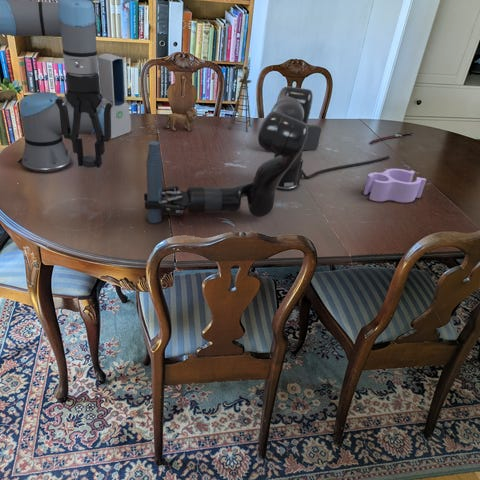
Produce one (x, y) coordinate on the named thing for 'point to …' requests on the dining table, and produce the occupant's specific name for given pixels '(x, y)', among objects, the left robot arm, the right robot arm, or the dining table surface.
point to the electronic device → (114, 92)
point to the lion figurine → (182, 118)
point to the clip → (394, 186)
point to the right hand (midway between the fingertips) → (144, 201)
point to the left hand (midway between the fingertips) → (90, 164)
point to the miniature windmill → (244, 81)
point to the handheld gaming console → (312, 137)
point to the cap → (89, 161)
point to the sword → (388, 137)
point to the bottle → (154, 180)
